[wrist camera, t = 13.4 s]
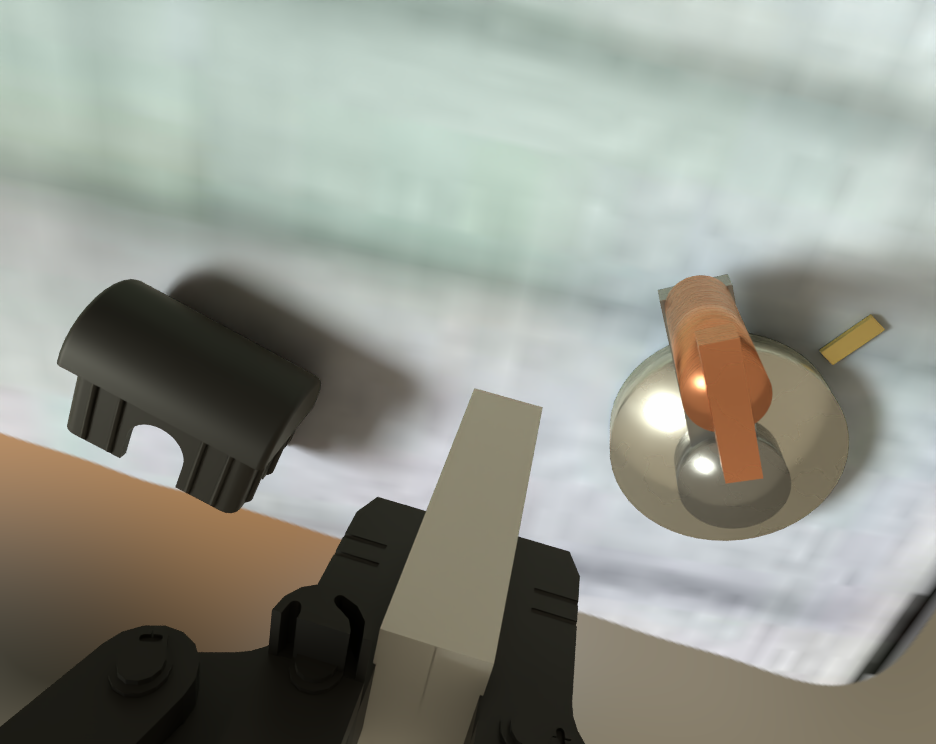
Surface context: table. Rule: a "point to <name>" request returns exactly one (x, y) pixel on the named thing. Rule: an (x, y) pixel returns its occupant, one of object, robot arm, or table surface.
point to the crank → (721, 409)
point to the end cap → (183, 390)
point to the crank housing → (788, 419)
